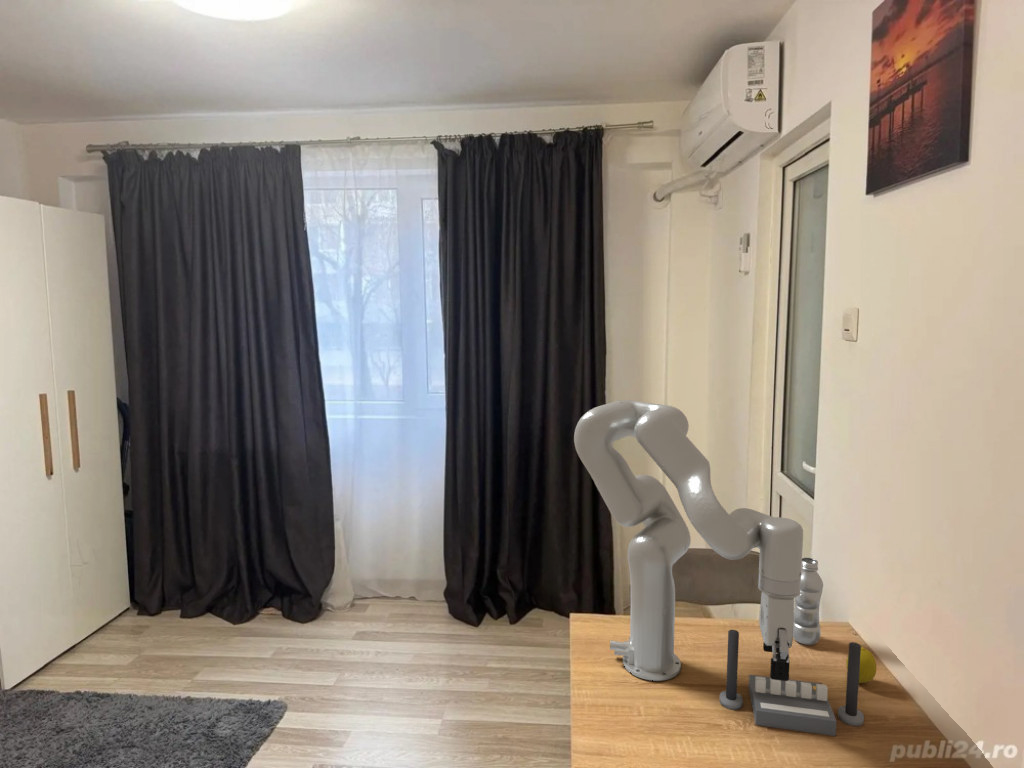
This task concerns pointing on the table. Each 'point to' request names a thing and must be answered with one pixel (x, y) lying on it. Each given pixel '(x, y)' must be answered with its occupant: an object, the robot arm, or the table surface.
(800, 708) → the breaker panel
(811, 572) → the plastic bottle
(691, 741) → the table surface
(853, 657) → the cord post right
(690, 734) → the table surface
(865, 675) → the lemon
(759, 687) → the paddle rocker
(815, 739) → the table surface
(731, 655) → the cord post left
